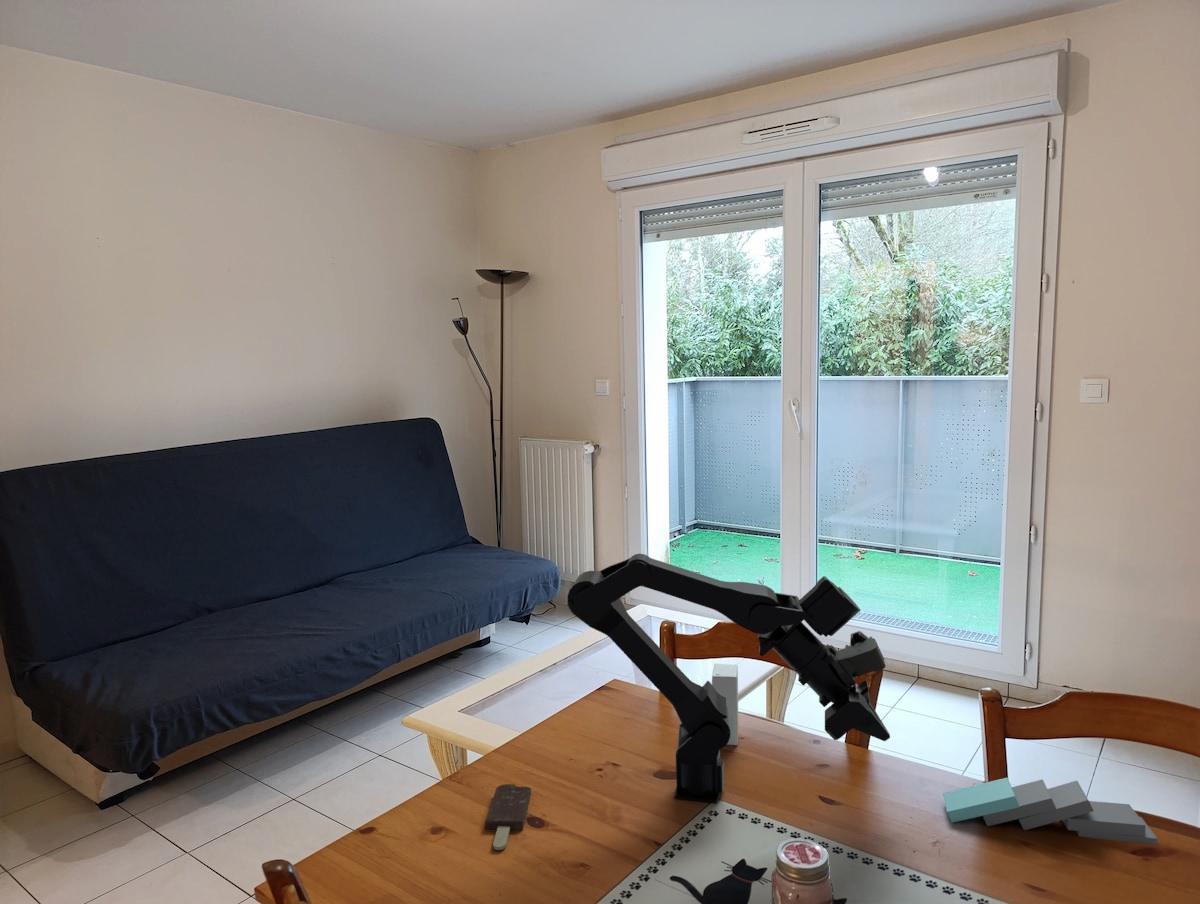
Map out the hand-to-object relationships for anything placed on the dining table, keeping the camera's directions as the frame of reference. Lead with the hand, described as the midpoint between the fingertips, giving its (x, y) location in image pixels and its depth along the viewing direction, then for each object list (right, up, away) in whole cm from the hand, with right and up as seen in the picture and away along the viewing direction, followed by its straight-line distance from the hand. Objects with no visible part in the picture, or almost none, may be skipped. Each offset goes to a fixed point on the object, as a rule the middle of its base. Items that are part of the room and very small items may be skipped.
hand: (887, 738), depth 111 cm
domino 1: (+12, -9, -3) cm, 15 cm away
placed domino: (+8, -9, -2) cm, 12 cm away
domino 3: (+22, -8, -5) cm, 24 cm away
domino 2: (+16, -9, -4) cm, 19 cm away
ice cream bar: (-54, -12, +1) cm, 56 cm away
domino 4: (+23, -10, -5) cm, 26 cm away
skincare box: (-19, -9, +23) cm, 31 cm away
